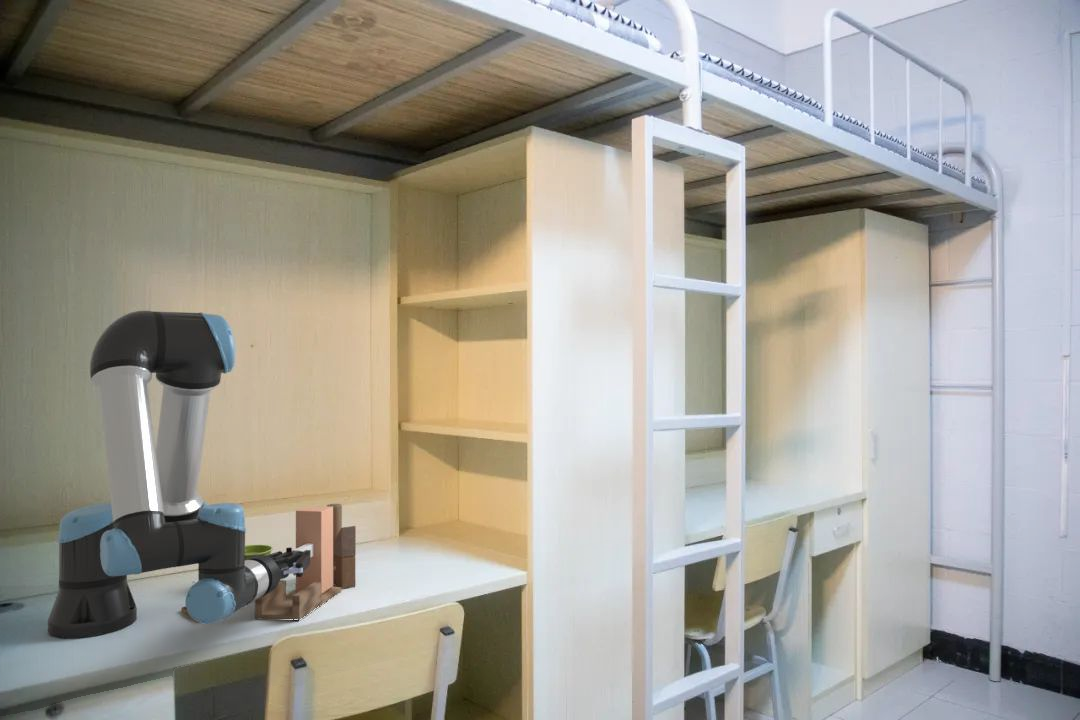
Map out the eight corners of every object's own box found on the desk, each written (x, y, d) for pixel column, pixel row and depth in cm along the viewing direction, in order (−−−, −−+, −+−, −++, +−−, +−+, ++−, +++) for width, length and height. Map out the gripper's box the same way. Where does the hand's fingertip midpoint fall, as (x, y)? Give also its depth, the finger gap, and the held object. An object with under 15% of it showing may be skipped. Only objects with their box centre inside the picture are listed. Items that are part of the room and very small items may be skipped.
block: (321, 593, 164) (321, 511, 164) (295, 592, 165) (295, 510, 165) (333, 586, 170) (333, 506, 170) (308, 585, 170) (308, 505, 171)
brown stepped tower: (341, 589, 171) (341, 511, 171) (323, 579, 180) (323, 504, 180) (356, 586, 173) (356, 509, 174) (338, 576, 182) (338, 502, 182)
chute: (299, 621, 150) (299, 596, 150) (255, 618, 151) (255, 594, 151) (341, 591, 170) (341, 569, 170) (301, 589, 171) (301, 568, 171)
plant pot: (281, 584, 175) (281, 547, 175) (245, 595, 167) (245, 556, 167) (256, 578, 180) (256, 542, 180) (220, 588, 172) (220, 550, 173)
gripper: (220, 597, 142) (282, 565, 165) (284, 600, 139) (338, 567, 163) (220, 558, 142) (282, 531, 165) (284, 560, 140) (338, 533, 163)
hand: (310, 549), depth 164 cm, fingers closed
